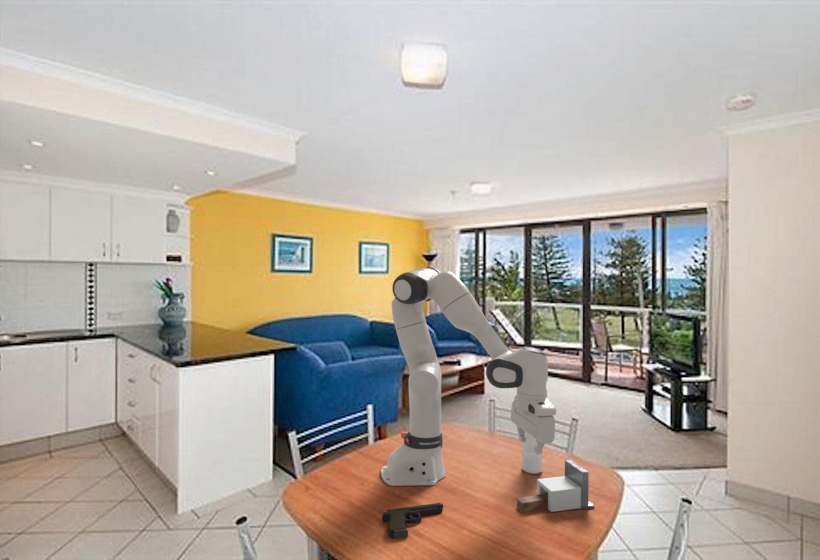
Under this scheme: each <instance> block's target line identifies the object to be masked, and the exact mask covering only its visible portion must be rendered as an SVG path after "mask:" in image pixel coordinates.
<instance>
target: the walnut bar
mask: <svg viewBox="0 0 820 560" xmlns="http://www.w3.org/2000/svg"><path fill="white" fill-rule="evenodd" d="M516 508H517V509H518V510H519V511H520V512H521V513H527V512H533V511H539V510H543V509H548V493H546V494H540V495H537V494H536V495H530V496H525V497H524V496H523V497H517V498H516Z"/></svg>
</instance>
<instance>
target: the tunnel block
mask: <svg viewBox="0 0 820 560" xmlns="http://www.w3.org/2000/svg"><path fill="white" fill-rule="evenodd" d="M546 493H548V508H547V510H548V511H550V513H553V512H561V511H567V510H568V511H570V510H576V509H577V510H578V509H581V487H580V486H578V485H577V484H576V483H574V482H573V481H572V480H570V479H569V478H568V477H566V476H565V475H563V476H553V477H544V478H543V477H542V478H538V479H537V478H536V495H540V494H546Z"/></svg>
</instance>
